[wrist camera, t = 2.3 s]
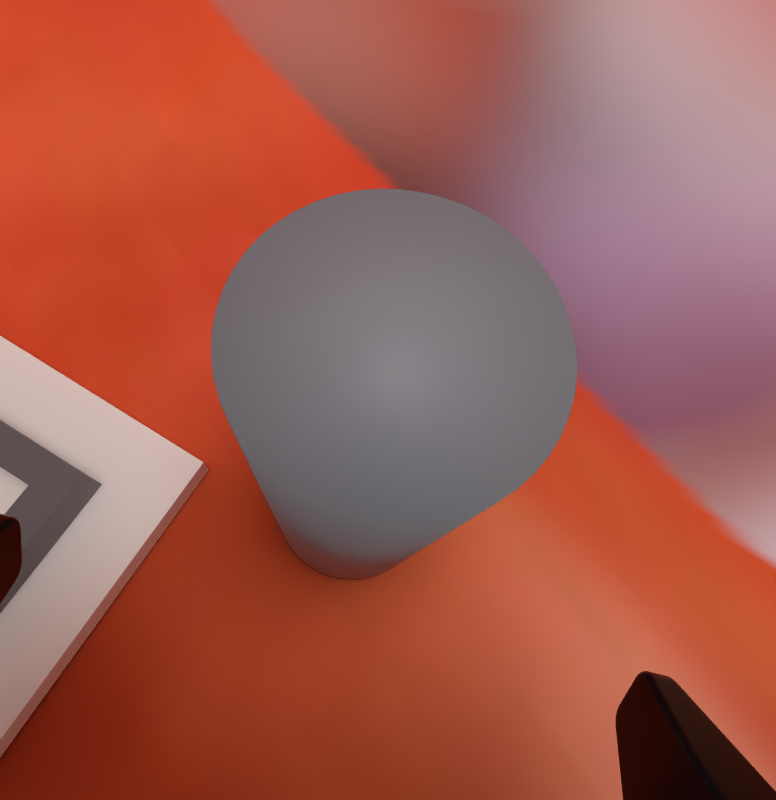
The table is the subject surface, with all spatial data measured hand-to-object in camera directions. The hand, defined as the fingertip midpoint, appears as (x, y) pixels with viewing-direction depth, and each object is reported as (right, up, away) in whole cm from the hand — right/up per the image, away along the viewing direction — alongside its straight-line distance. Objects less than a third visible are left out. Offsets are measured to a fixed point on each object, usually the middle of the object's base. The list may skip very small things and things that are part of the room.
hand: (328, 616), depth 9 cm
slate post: (0, 0, +11) cm, 11 cm away
